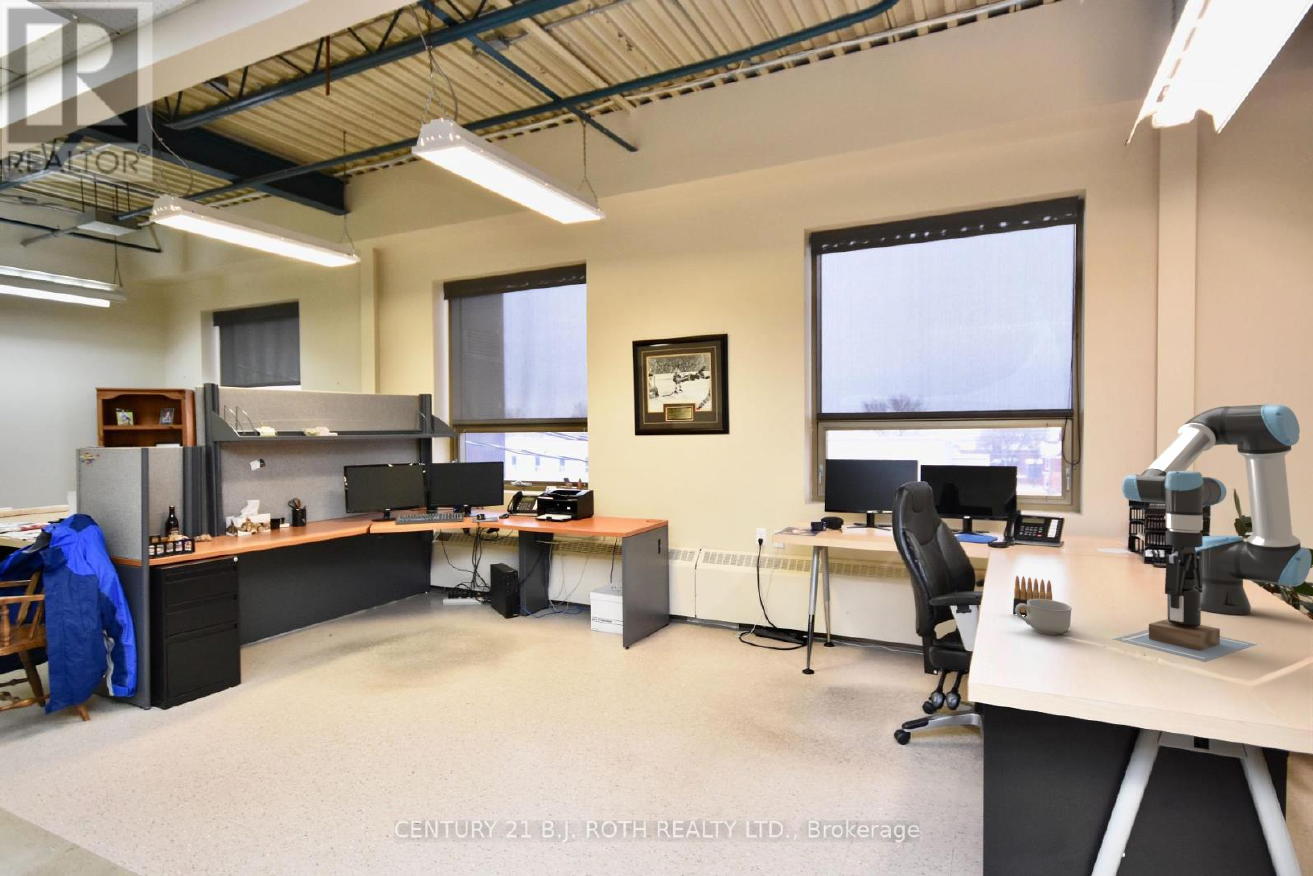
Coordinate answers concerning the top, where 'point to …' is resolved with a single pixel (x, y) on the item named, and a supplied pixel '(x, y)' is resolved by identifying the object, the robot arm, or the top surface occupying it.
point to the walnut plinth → (1184, 635)
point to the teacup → (1046, 616)
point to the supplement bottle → (1188, 604)
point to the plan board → (1202, 655)
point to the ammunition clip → (1029, 593)
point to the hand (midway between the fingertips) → (1183, 618)
